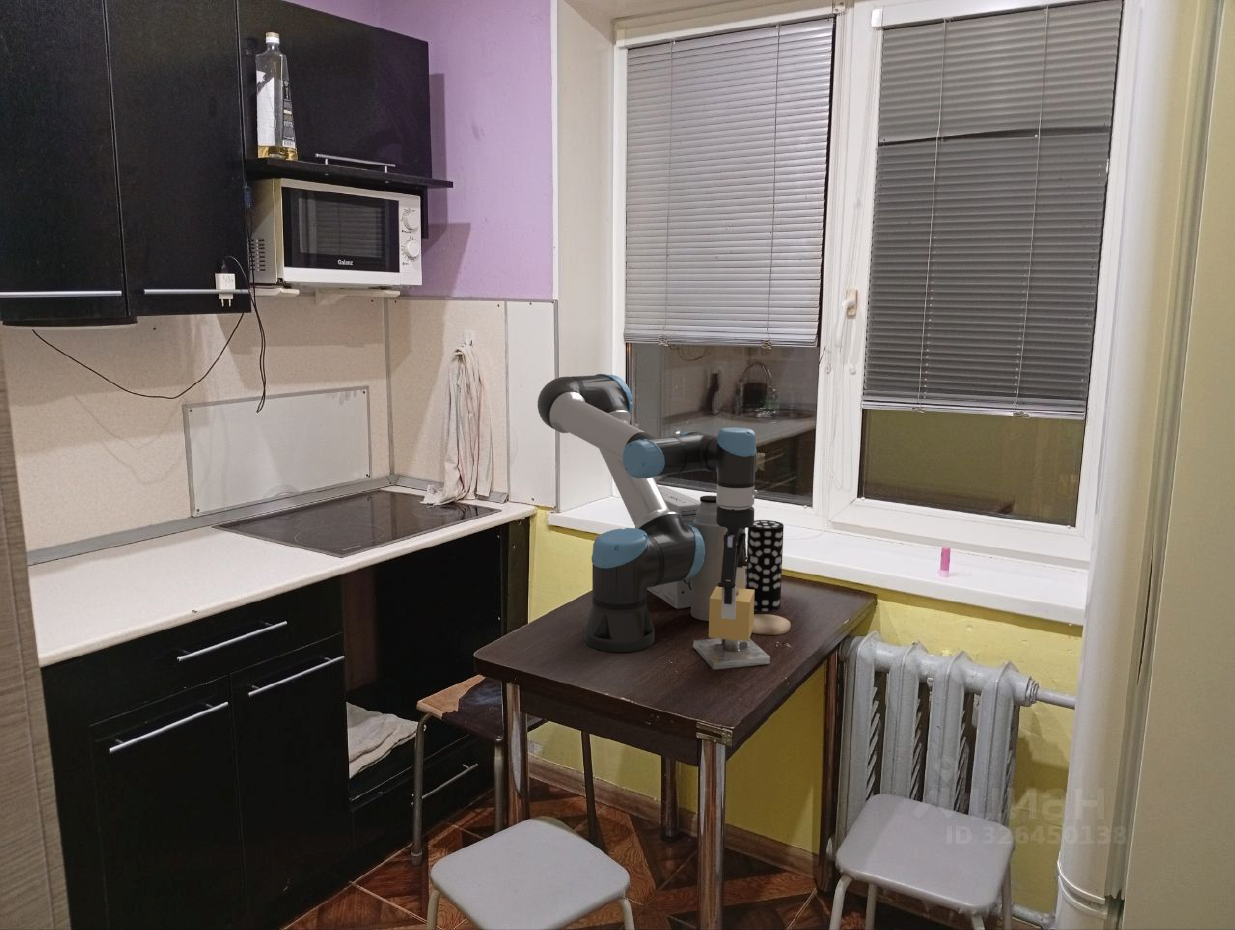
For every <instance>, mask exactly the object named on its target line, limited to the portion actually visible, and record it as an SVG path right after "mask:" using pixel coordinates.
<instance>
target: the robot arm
mask: <svg viewBox="0 0 1235 930" xmlns="http://www.w3.org/2000/svg"><path fill="white" fill-rule="evenodd" d="M632 400H633V394H632V392H631V389H630V387H629V386H628V384H627V383H626V382H625V381H624V380H623V379H622V378H621V377H619V376H617V375H614V374H606V373H598V374H595V375H579V376H575V375H574V376H561V377H557V378H554V379H552V380H551V381H549V382H547V383H546V384H545V386H544V387H543V388H542V390H541V391H540V393H539V396H538V398H537V412H538V414H539V416H540V418H541V420H542V421H543V423H545V425H546V426H548V427H549V428H551V429H552V430H555V431H556V432H558V433H561V434H568V433H570V434H571V435H573V436H575V437H577V438H579V439H581V440H582V441H585V442H586V443H588V444H590V445H592V446H594V447H596V448H598V450H599V451H600V454H601V456H602V458H603V460H604V462H605V464H606V467H607V469H608V471H609V473H610V476H611V478H612V479H613V482H614V484H615V486H616V488H617V490H618V493H619V495H620V497H621V499H622V501H623V504H624V506H625V508H626V510H627V512H628V514H629V516H630V518H631V521H632V524H633V525H634V527H625V528H615V529H611V530H608V531H606V532H602V533H601V534H600V535H598V536H597V537H596V538H595V539H594V542H593V544H592V555H591V563H592V578H591V579H592V586H591V587H592V591H591V592H592V599H591V600H592V602H591V603H592V604H591V608H590V611H589V613H588V617H587V620H586V623H585V625H584V628H583V629H584V630H583V632H584V634H583V635H584V637H583V638H584V642H585V644H586V645H588V646H589V647H591V648H593V649H595V650H599V651H603V652H609V653H629V652H631V653H632V652H637V651H641V650H644V649H646V648H649V647H651V646H652V645H653V644H654V642H655V638H656V637H655V634H656V633H655V628H654V624H653V621H652V617H651V615H650V612H649V608H648V601H647V599H648V598H647V597H648V590H647V588H650V587H654V586H658V585H663V584H667V583H671V582H676V581H683V580H684V579H687V578H690V577H693V576H694V575H696V574H697V573H698V572H699V571H700V569H701V567H702V565H703V562H704V556H705V545H704V540H703V537H702V535H701V533H700V532H699V530H698V529H697V528H695V527H693V526H691V525H684V524H683V521H682V519H681V517H680V515H679V514H678V513H676V512H673V511H670V510H669V508H668V506H667V504H666V502H665V500H664V498H663V496H662V494H661V492H660V490H659V485H658V484H657V481H656V479H655V478H656V477H661V476H669V475H676V474H683V473H689V472H697V471H706V472H711V473H715V474H716V477H717V479H716V495H715V496H716V503H717V504H718V505H719V506H718V507H717V511H716V523H717V524H718V525H719V526H721V527H726V528H727V532H726V535H724V539H723V540H724V550H723V561H722V573H721V582H720V583H718V587H722V605H721V618H722V619H733V620H735V617H736V588H740V589H746V567H748V566H749V561H747V544H746V543H747V540H746V539H747V533H746V528H747V529H748V527H751V526H752V525H753V524H754V521H755V508H754V507H753V505H754V504H755V496H757V495H759V492H758V490H756V489H755V487H756V486H755V485H756V482H755V481H756V462H757V461H756V460H757V458H756V457H757V451H758V450H757V442H756V441H757V440H756V433H755V431H754V430H753V429H751V428H747V427H724V428H720V429H719V430H718V432H717V435H715V434H710V433H704V432H701V431H698V430H697V431H684V432H682V433H681V434H679V435H676V436H664V437H657V436H654V435H652V434H650V433H648V432H646V431H644V430H642V429H640V428H637V426H634V425H632V424H630V422H631V420H632V412H633V405H634V402H632Z"/></svg>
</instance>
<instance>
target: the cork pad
mask: <svg viewBox="0 0 1235 930" xmlns="http://www.w3.org/2000/svg"><path fill="white" fill-rule="evenodd" d="M791 626H792V625H791V622H790V620H788V619H787V618H785V617H782V616H779V615H776V614H767V613H765V614H764V613H759V614H757V613H756V614H754V621H753V630H752V633H753V634H757V635H761V636H762V635H763V636H764V635H766V636H777V635H782V634H785V633H787V632H789V631H790V630H791ZM752 633H751V634H752Z"/></svg>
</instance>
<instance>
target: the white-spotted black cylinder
mask: <svg viewBox="0 0 1235 930" xmlns="http://www.w3.org/2000/svg"><path fill="white" fill-rule="evenodd" d="M784 527H785V525H784V523H782V522H780V521H776V520H771V519H770V520H769V519H758V520H757V519H756V520H755V519H754V524H753V525H752V526H751V527H748V528H747V536H746V539H747V540H746V543H747V544H746V557H747V560H746V561H749V566H748V567H746V566H745V589H751V590H755V593H754V611H756V612H757V611H758V612H772V611H777V610H779V609H780V608H781V600H782V598H781V597H782V595H781V593H782V576H783V575H782V573H783V549H784V529H785V528H784Z"/></svg>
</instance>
